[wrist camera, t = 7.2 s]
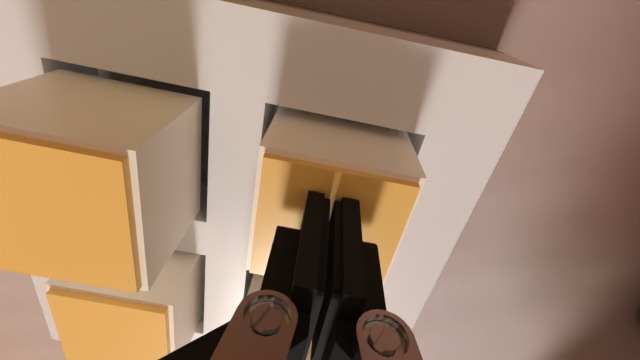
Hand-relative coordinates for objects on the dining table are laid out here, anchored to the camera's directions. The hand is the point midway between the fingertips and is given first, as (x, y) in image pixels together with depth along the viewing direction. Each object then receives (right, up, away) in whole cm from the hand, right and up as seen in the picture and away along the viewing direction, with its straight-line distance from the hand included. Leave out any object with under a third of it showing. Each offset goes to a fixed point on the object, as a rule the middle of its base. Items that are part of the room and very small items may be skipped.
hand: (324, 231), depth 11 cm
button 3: (-8, +3, +3) cm, 9 cm away
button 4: (-9, -3, +8) cm, 12 cm away
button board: (-4, +1, +8) cm, 9 cm away
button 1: (0, +2, +4) cm, 5 cm away
